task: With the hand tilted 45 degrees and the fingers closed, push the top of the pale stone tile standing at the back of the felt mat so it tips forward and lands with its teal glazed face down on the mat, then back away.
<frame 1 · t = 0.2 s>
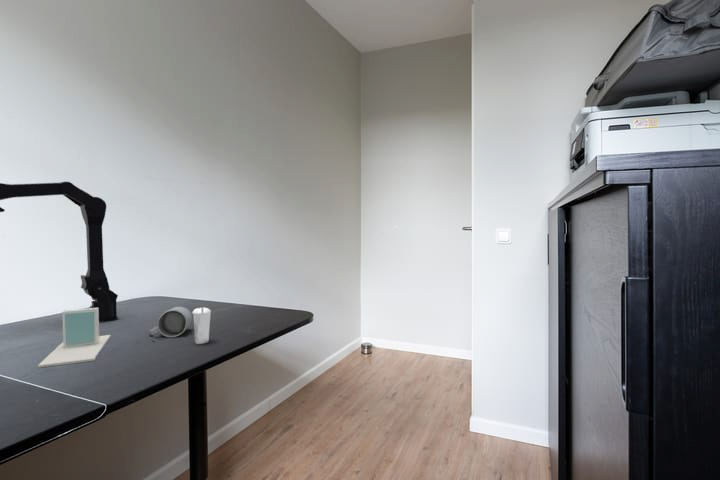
milkshake: (202, 343, 96), on the table
tile: (81, 344, 93), resting on mat
ceramic mug: (170, 334, 104), on the table
mat: (78, 350, 90), on the table
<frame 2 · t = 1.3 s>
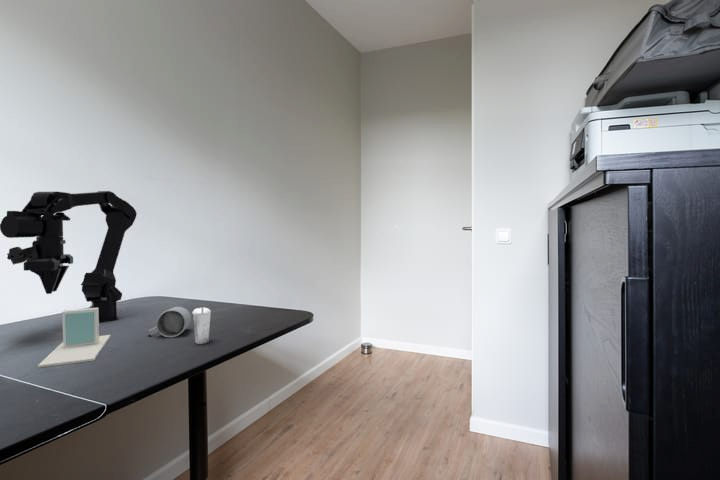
hand: (51, 292, 102), 12 cm above the table, tool pointing down, fingers open, 4 cm apart
nothing on the table moved.
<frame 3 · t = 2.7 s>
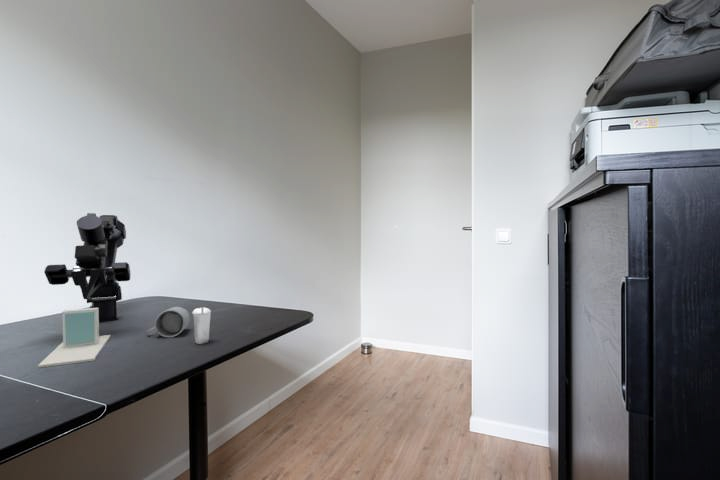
hand: (85, 298, 97), 12 cm above the table, tool tilted 45°, fingers closed
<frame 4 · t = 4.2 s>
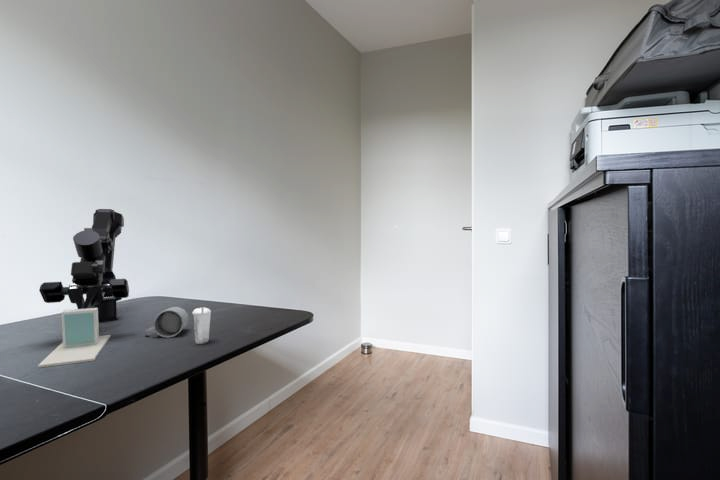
hand: (81, 317, 93), 7 cm above the table, tool tilted 45°, fingers closed, pressing on tile
tile: (81, 344, 93), point 1 cm above the table, touching gripper, mat
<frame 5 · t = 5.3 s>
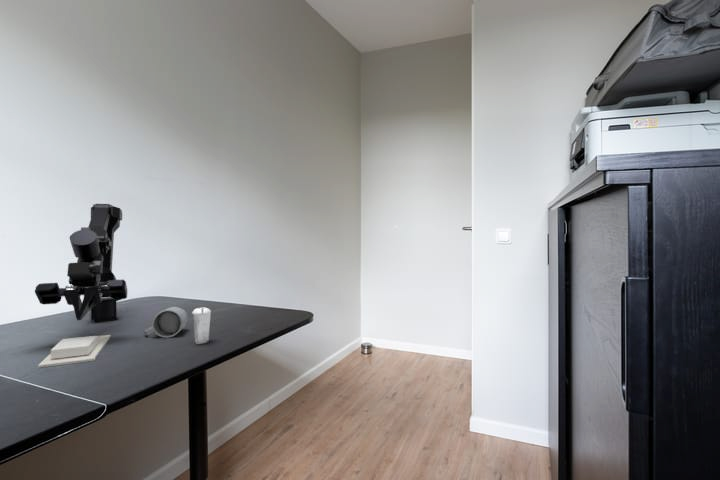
hand: (78, 319, 90), 8 cm above the table, tool tilted 45°, fingers closed
tile: (80, 341, 91), point 2 cm above the table, tilted 90°, touching mat
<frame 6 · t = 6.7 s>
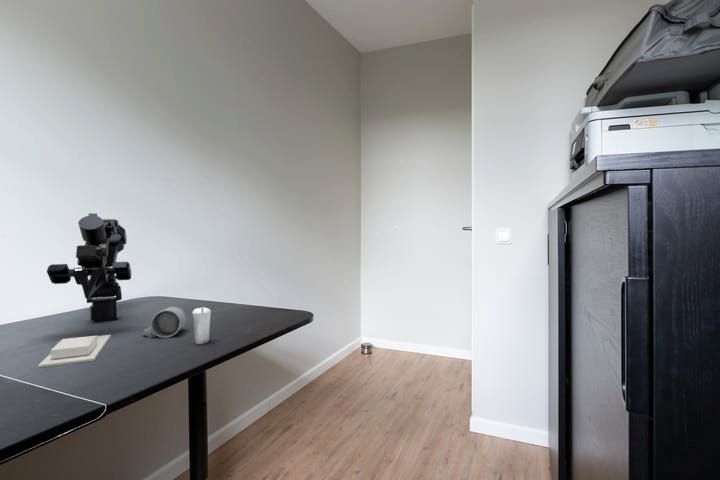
hand: (86, 297, 98), 11 cm above the table, tool tilted 45°, fingers closed
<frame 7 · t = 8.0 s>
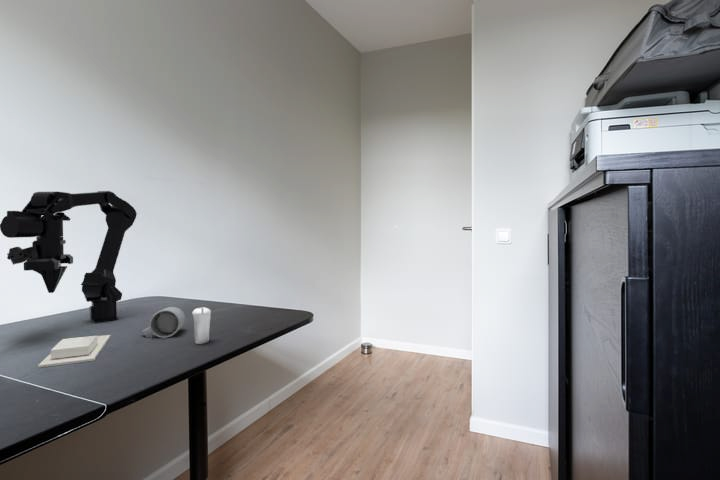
hand: (51, 292, 102), 12 cm above the table, tool pointing down, fingers closed
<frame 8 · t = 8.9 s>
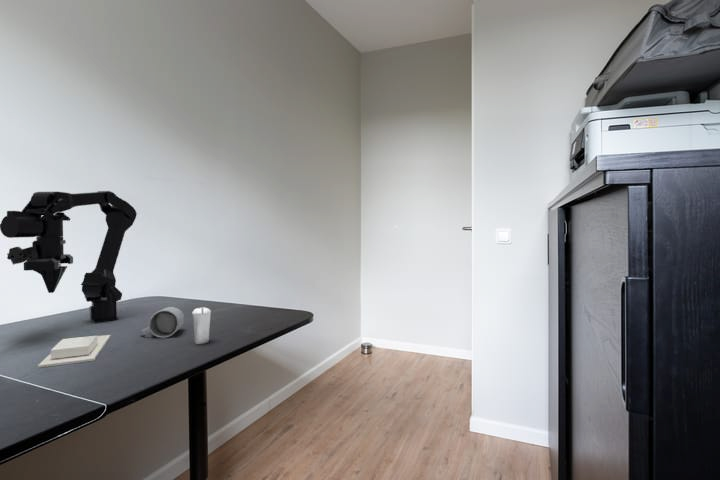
hand: (51, 292, 102), 12 cm above the table, tool pointing down, fingers closed
at the end: tile tilted 90°; tile 1.8 cm from the mat (horizontally); tile point 1.7 cm above the table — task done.
